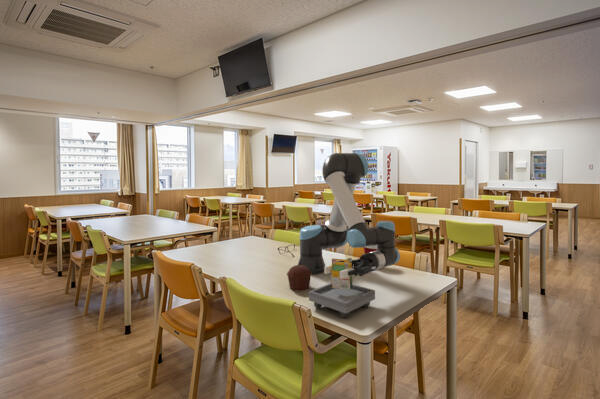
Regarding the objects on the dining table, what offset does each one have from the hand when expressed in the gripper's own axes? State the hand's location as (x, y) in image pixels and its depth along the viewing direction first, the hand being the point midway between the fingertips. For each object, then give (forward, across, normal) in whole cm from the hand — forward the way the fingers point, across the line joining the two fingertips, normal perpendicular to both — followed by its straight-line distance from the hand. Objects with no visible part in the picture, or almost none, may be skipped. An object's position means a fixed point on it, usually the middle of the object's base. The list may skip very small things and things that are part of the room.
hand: (332, 272), depth 128 cm
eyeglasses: (-46, +81, -15) cm, 94 cm away
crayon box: (-5, 0, -7) cm, 9 cm away
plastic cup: (-57, +27, -15) cm, 65 cm away
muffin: (-7, +28, -15) cm, 33 cm away
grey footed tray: (-5, 0, -15) cm, 15 cm away
